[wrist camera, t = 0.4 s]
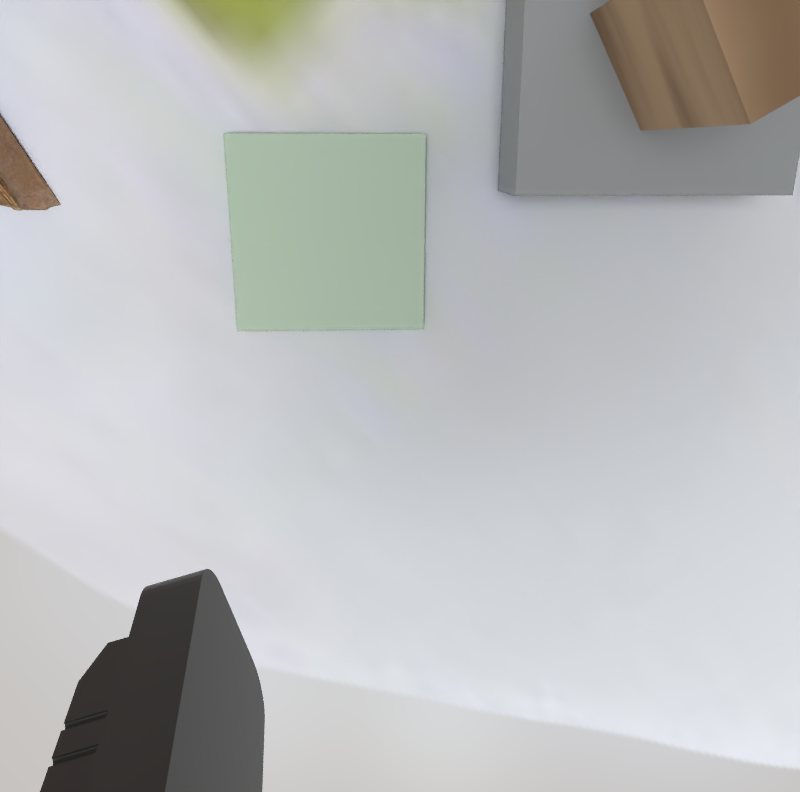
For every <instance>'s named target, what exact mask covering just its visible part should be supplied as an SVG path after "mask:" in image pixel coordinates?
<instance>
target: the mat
mask: <svg viewBox="0 0 800 792" xmlns="http://www.w3.org/2000/svg"><path fill="white" fill-rule="evenodd" d="M224 147H225V162H226V176H227V190H228V205H229V219H230V233H231V248H232V262H233V276H234V291H235V305H236V319H237V331H308V330H394V329H423V328H424V244H425V160H426V134H331V133H224Z"/></svg>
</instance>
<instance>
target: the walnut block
mask: <svg viewBox="0 0 800 792" xmlns="http://www.w3.org/2000/svg"><path fill="white" fill-rule="evenodd" d="M590 15H591V17H592V20H593V22H594V24H595V27H596V29H597V31H598V34H599V36H600V38H601V40H602V43H603V45H604V47H605V50H606V52H607V54H608V57H609V59H610V61H611V64H612V66H613V68H614V70H615V73H616V75H617V77H618V80H619V82H620V84H621V87H622V89H623V91H624V93H625V96H626V98H627V100H628V103H629V105H630V107H631V110H632V112H633V114H634V116H635V119H636V121H637V123H638V126H639V128H640V130H641V131H643V130H660V129H677V128H694V127H711V126H727V125H744V124H752V123H753V122H755V121H757V120H759V119H760V118H762V117H764V116H766V115H767V114H769V113H771V112H773V111H774V110H776V109H778V108H779V107H781V106H783V105H785V104H786V103H788V102H790V101H792V100H793V99H795V98H797V97H799V96H800V0H610V1H609V2H607V3H606V4H604V5H602V6H601V7H599V8H597V9H596V10H594V11H592V12H591V13H590Z"/></svg>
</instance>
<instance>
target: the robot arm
mask: <svg viewBox="0 0 800 792" xmlns="http://www.w3.org/2000/svg"><path fill="white" fill-rule="evenodd" d="M264 719H265V715H264V702H263V696H262V690H261V685H260V681H259V677H258V673H257V670H256V667H255V665H254V662H253V660H252V657H251V655H250V653H249V650H248V648H247V646H246V643H245V641H244V639H243V636H242V634H241V632H240V629H239V627H238V625H237V622H236V620H235V618H234V615H233V613H232V611H231V608H230V606H229V604H228V601H227V599H226V597H225V594H224V592H223V590H222V587H221V585H220V583H219V581H218V579H217V577H216V576H215V574H214V573H213V572H212V571H211V570H209V569H205V570H202V571H198V572H195V573H191V574H188V575H184V576H181V577H178V578H174V579H171V580H167V581H164V582H160V583H157V584H153V585H150V586H147V587H145V588H144V589H143V591H142V593H141V596H140V600H139V603H138V607H137V610H136V614H135V617H134V621H133V624H132V628H131V631H130V635H129V637H127V638H124V639H120V640H116V641H113V642H110V643H108V644H107V645H106V646H105V648H104V649H103V650H102V652H101V653H100V654H99V655H98V657H97V658H96V659H95V661H94V662H93V663H92V665H91V666H90V667H89V669H88V670H87V671H86V673H85V674H84V675H83V676H82V678H81V679H80V680H79V682H78V684H77V687H76V690H75V693H74V696H73V699H72V702H71V704H70V707H69V710H68V713H67V716H66V719H65V722H64V723H65V730H63V731H61V733H60V736H59V739H58V742H57V745H56V748H55V751H54V754H53V756H52V759H53V766H51V767H49V768H48V771H47V773H46V776H45V780H44V782H43V785H42V788H41V791H40V792H262V780H263V779H262V778H263V750H264V721H265V720H264Z"/></svg>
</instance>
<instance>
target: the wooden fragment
mask: <svg viewBox="0 0 800 792" xmlns="http://www.w3.org/2000/svg"><path fill="white" fill-rule="evenodd" d="M0 205H3V206H7V207H12V208H13V209H14V210H22V209H23V210H46V209H48V208H50V207H53V206H58V205H61V204H60V203H59V202H58V200H57V199H56V198H55V196H54V195H53V193H52V192H51V190H50V188H49V187H48V186H47V184H46V182H45V181H44V179H43V178H42V176H41V175H40V174H39V172H38V171H37V169H36V168H35V166H34V165H33V164H32V162H31V161H30V159H29V158H28V156H27V155H26V153H25V152H24V150H23V149H22V148H21V146H20V145H19V143H18V142H17V140H16V139H15V137H14V136H13V134H12V133H11V131H10V129H9V128H8V127H7V125H6V124H5V122H4V121H3V120H2V118H1V117H0Z"/></svg>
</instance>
